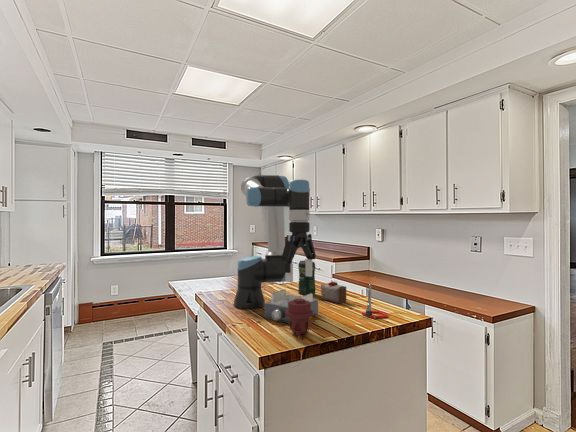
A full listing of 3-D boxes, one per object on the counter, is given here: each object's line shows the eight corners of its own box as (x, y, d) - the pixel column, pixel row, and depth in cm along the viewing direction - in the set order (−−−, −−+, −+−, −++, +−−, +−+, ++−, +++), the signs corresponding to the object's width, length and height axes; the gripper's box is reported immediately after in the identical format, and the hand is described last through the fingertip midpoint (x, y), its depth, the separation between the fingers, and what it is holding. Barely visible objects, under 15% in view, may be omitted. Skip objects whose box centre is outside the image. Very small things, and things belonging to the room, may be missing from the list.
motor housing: (260, 319, 137) (260, 296, 137) (288, 308, 154) (288, 287, 154) (291, 326, 128) (291, 302, 128) (318, 313, 145) (318, 292, 145)
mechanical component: (314, 329, 125) (310, 338, 115) (288, 327, 127) (283, 336, 117) (314, 297, 125) (310, 303, 115) (288, 295, 127) (283, 302, 117)
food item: (318, 299, 171) (318, 280, 171) (328, 297, 176) (328, 278, 176) (338, 304, 160) (338, 284, 161) (348, 302, 166) (348, 282, 166)
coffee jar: (317, 294, 182) (317, 261, 182) (306, 296, 177) (306, 262, 177) (307, 291, 189) (307, 259, 190) (296, 293, 185) (296, 260, 185)
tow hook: (376, 312, 149) (360, 314, 144) (377, 281, 149) (361, 283, 144) (392, 317, 141) (375, 320, 136) (393, 285, 141) (376, 286, 136)
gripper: (288, 221, 109) (288, 285, 108) (324, 221, 129) (324, 275, 129) (270, 221, 113) (270, 283, 113) (308, 221, 134) (308, 273, 133)
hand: (299, 279), depth 121 cm, fingers open, 13 cm apart
